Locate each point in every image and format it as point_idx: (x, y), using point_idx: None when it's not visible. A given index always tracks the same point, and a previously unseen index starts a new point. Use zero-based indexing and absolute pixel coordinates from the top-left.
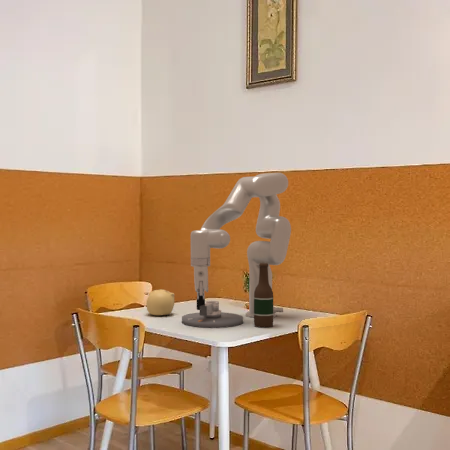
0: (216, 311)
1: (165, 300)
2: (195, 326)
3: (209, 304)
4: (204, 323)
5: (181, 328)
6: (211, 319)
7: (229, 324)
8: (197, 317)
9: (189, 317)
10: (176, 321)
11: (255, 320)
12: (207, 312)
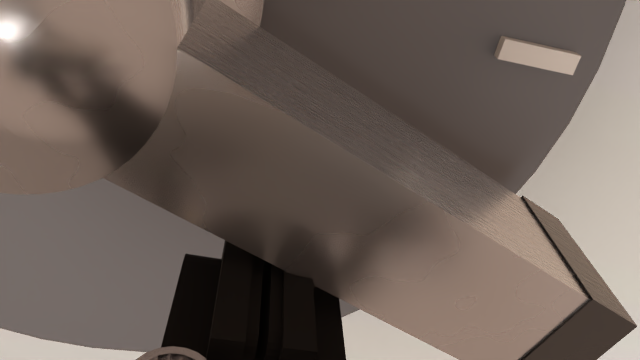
0: None
1: None
2: None
3: (433, 213)
4: (517, 180)
5: (437, 354)
6: (340, 41)
7: None
8: (127, 191)
9: (112, 278)
10: (39, 339)
11: None
12: (508, 201)
